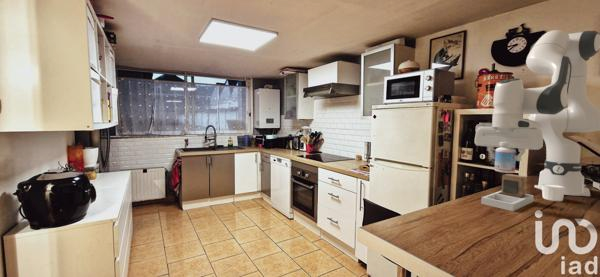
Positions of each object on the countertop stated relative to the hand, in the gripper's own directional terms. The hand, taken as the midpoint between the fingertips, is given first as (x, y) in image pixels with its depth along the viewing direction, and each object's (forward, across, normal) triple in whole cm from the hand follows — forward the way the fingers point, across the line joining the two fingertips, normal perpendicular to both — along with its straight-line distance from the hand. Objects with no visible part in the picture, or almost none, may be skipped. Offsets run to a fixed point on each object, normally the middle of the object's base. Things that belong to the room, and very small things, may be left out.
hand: (505, 159), depth 97 cm
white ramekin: (+19, +8, +25) cm, 33 cm away
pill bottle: (+5, 0, 0) cm, 5 cm away
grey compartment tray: (+19, 0, +4) cm, 19 cm away
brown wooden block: (+17, 0, +9) cm, 20 cm away
